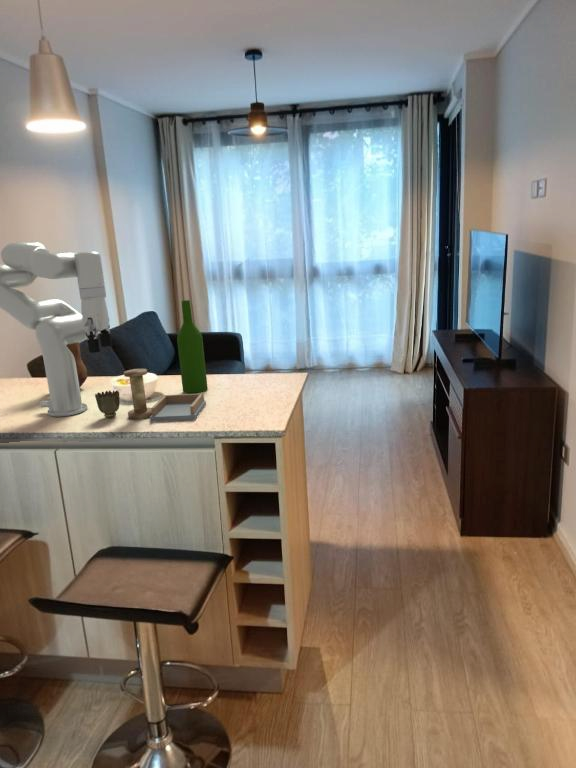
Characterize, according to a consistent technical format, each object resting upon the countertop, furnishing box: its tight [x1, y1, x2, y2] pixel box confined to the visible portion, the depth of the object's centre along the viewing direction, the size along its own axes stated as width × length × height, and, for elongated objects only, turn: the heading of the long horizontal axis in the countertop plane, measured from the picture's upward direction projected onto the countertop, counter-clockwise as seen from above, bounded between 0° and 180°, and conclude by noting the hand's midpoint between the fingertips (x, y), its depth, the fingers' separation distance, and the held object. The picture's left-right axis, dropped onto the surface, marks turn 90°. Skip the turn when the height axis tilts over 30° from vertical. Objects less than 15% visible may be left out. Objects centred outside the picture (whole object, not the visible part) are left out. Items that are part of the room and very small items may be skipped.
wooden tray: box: [149, 392, 207, 423], centre depth 187 cm, size 14×16×4 cm
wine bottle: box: [176, 299, 208, 394], centre depth 211 cm, size 9×9×32 cm
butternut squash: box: [66, 342, 88, 389], centre depth 226 cm, size 14×13×25 cm
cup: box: [94, 389, 121, 419], centre depth 188 cm, size 8×7×8 cm
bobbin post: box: [123, 368, 152, 421], centre depth 186 cm, size 8×8×14 cm
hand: (100, 349), depth 183 cm, fingers open, 9 cm apart
